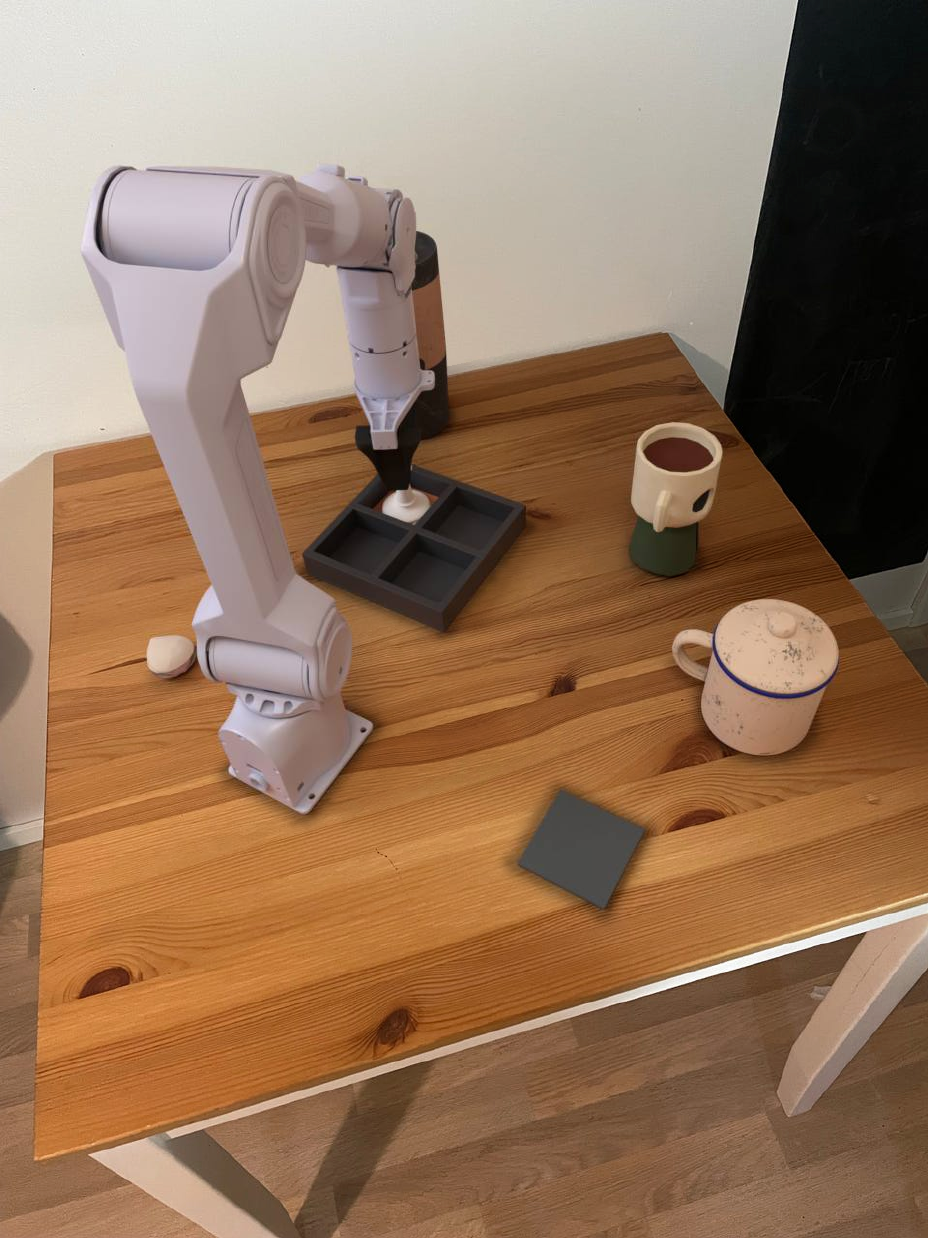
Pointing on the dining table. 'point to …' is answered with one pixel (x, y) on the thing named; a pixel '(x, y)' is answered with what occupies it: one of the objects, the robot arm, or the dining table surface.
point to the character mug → (672, 494)
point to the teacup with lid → (762, 674)
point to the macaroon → (170, 655)
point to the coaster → (581, 849)
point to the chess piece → (406, 505)
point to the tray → (417, 547)
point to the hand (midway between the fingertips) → (399, 460)
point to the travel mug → (430, 337)
